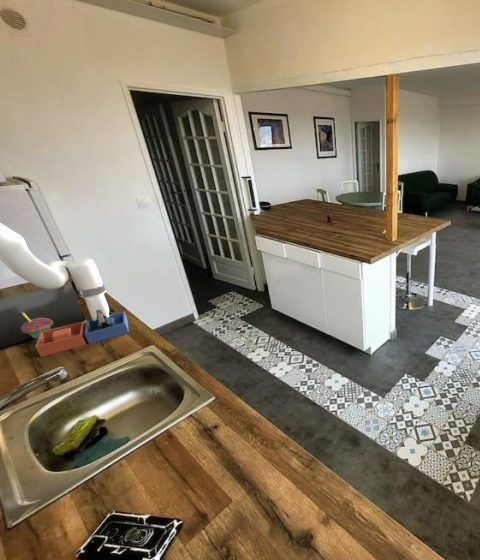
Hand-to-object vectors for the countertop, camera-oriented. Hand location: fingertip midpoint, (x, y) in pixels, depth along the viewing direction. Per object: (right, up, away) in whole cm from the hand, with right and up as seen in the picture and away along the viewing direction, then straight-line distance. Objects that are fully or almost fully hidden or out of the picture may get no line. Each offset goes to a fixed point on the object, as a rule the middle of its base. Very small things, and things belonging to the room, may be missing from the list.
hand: (109, 329), depth 127 cm
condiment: (-13, +3, +9) cm, 17 cm away
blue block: (0, 0, 0) cm, 0 cm away
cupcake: (-25, -2, -3) cm, 25 cm away
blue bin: (0, -1, 0) cm, 1 cm away
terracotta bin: (-10, -4, -7) cm, 13 cm away
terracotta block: (-10, -4, -7) cm, 13 cm away
